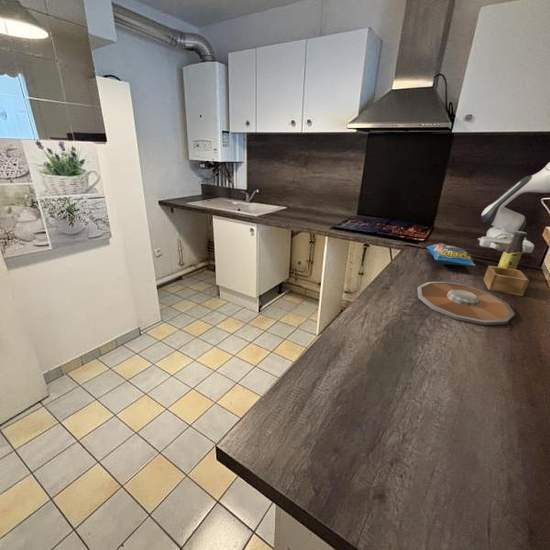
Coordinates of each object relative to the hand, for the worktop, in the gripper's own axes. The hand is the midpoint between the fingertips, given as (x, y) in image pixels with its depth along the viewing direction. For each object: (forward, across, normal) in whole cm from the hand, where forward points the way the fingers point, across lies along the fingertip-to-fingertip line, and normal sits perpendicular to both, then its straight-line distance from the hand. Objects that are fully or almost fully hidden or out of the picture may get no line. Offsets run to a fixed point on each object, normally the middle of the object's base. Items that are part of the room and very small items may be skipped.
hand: (509, 249), depth 129 cm
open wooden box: (+21, -4, +11) cm, 24 cm away
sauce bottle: (+5, 0, +11) cm, 12 cm away
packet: (+1, -22, +11) cm, 25 cm away
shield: (+44, -21, +11) cm, 50 cm away
